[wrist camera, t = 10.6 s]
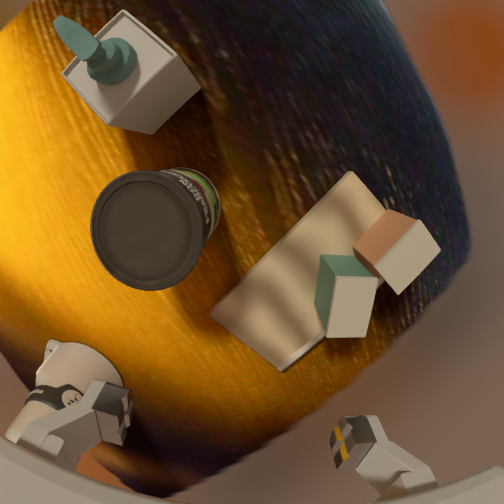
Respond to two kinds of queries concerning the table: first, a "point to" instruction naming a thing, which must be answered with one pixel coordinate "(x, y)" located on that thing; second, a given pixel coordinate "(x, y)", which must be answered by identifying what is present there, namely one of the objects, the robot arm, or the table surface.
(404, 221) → the rust tin
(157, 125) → the soap bottle
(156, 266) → the coffee can
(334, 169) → the table surface
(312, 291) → the shelf board
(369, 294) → the green tin
